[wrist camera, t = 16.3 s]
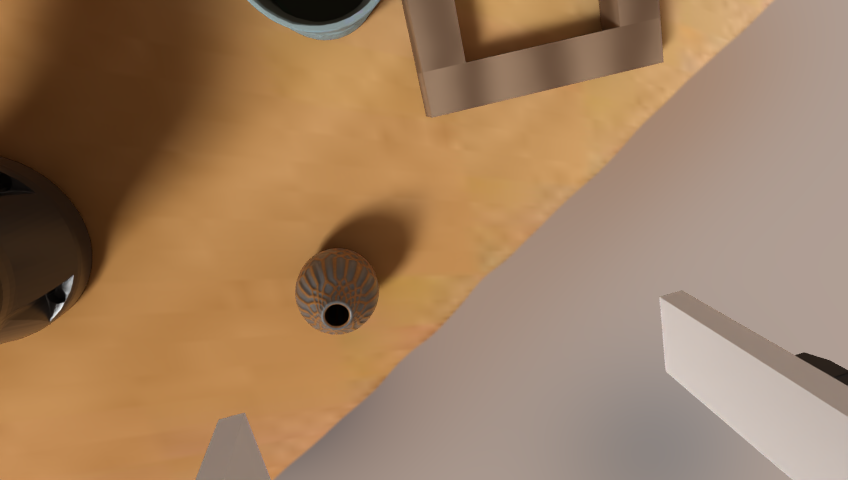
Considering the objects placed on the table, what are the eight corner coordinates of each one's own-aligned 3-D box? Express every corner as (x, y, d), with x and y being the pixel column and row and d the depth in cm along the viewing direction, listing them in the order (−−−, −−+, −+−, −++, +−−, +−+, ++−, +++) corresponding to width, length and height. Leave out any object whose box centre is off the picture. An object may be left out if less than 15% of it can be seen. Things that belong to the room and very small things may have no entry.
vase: (285, 288, 46) (271, 332, 37) (324, 225, 45) (319, 255, 36) (351, 323, 47) (352, 371, 39) (390, 263, 46) (400, 300, 38)
